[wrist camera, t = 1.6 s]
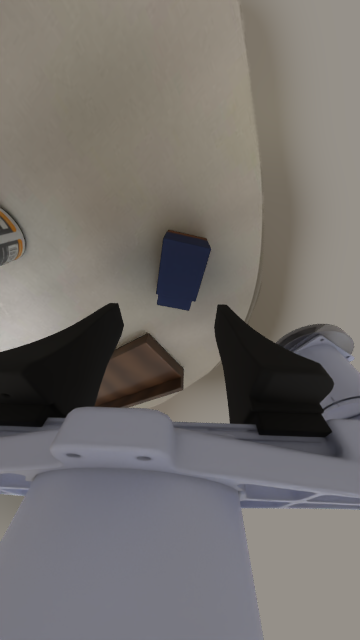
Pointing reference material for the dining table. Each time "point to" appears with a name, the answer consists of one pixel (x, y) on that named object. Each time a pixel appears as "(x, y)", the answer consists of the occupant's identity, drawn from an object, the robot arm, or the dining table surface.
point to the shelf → (139, 375)
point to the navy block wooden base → (181, 269)
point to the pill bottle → (10, 239)
